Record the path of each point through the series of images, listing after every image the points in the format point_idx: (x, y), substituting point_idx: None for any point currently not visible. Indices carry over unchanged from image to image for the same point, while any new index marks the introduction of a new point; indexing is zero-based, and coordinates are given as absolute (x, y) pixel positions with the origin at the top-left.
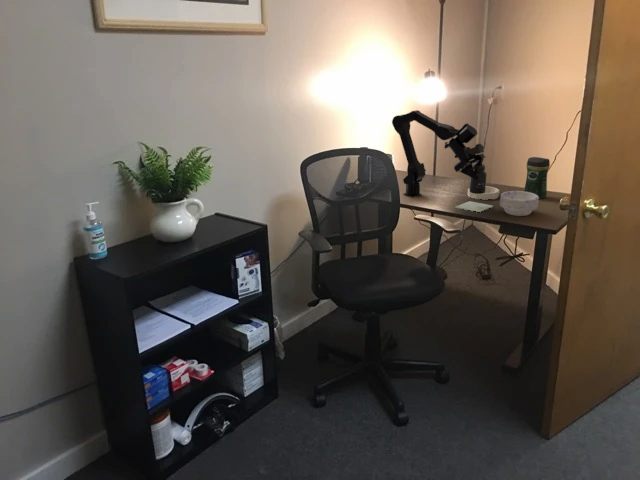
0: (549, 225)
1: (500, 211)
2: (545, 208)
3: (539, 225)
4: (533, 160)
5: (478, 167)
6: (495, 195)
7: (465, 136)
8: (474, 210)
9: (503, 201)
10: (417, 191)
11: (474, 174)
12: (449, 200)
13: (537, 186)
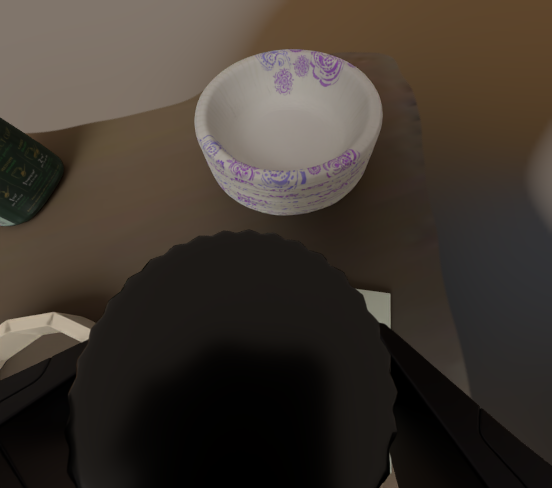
0: (368, 65)
1: (305, 225)
2: (184, 120)
3: (388, 81)
4: None
5: (378, 337)
6: (82, 321)
7: None
8: (386, 324)
9: (364, 163)
10: None
11: (439, 376)
12: None
13: (12, 135)
